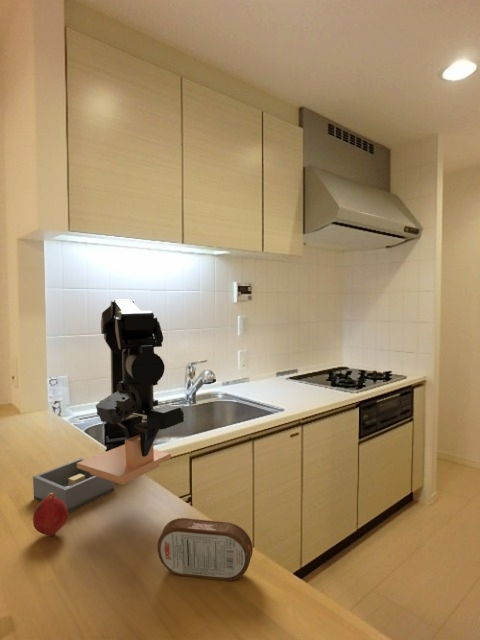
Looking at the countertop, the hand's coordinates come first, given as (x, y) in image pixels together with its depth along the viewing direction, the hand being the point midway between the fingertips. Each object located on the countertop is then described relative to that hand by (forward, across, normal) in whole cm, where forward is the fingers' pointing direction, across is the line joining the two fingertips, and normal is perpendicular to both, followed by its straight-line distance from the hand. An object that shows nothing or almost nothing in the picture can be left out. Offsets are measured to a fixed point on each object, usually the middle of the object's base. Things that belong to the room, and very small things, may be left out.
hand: (140, 454), depth 79 cm
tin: (+13, +20, -6) cm, 25 cm away
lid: (+4, -4, 0) cm, 6 cm away
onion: (+13, -10, -13) cm, 21 cm away
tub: (+13, -20, -1) cm, 24 cm away
